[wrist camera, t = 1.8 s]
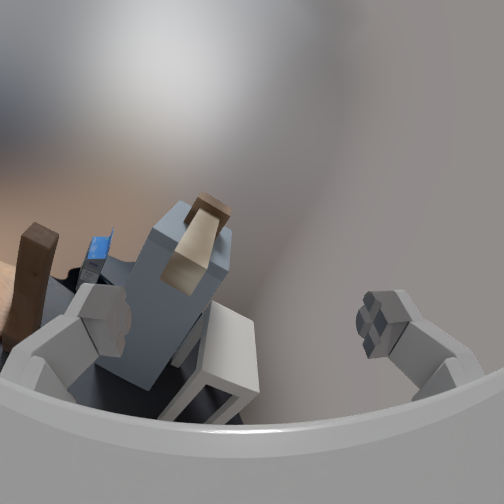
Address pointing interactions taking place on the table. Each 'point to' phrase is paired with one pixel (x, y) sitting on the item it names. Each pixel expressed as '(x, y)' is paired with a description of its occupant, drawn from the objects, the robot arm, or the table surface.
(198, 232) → the long tan plank
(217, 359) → the stool
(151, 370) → the tall blue-grey box
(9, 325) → the wooden block
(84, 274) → the label tape box
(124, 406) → the table surface
